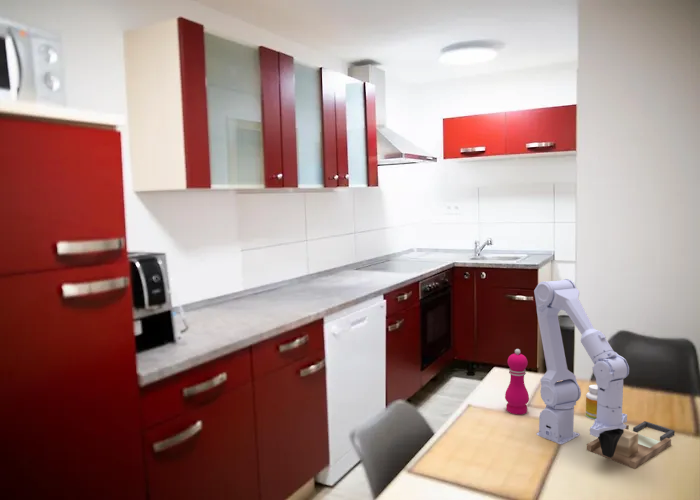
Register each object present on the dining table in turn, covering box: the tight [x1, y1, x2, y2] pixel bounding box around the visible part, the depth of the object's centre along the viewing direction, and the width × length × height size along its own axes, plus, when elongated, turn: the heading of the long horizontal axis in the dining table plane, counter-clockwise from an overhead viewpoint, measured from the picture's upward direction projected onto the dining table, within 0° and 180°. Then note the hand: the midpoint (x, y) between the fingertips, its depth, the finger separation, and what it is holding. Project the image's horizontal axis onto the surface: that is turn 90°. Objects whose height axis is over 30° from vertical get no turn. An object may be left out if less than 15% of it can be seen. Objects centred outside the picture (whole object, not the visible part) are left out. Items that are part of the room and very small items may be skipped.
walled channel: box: [586, 423, 672, 470], centre depth 142 cm, size 20×12×2 cm, turn 126°
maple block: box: [615, 429, 639, 457], centre depth 140 cm, size 5×5×5 cm
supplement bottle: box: [585, 384, 598, 421], centre depth 161 cm, size 5×5×10 cm
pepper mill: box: [504, 348, 530, 415], centre depth 167 cm, size 7×7×20 cm
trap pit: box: [632, 421, 675, 441], centre depth 150 cm, size 7×8×2 cm
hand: (607, 455), depth 135 cm, fingers closed
